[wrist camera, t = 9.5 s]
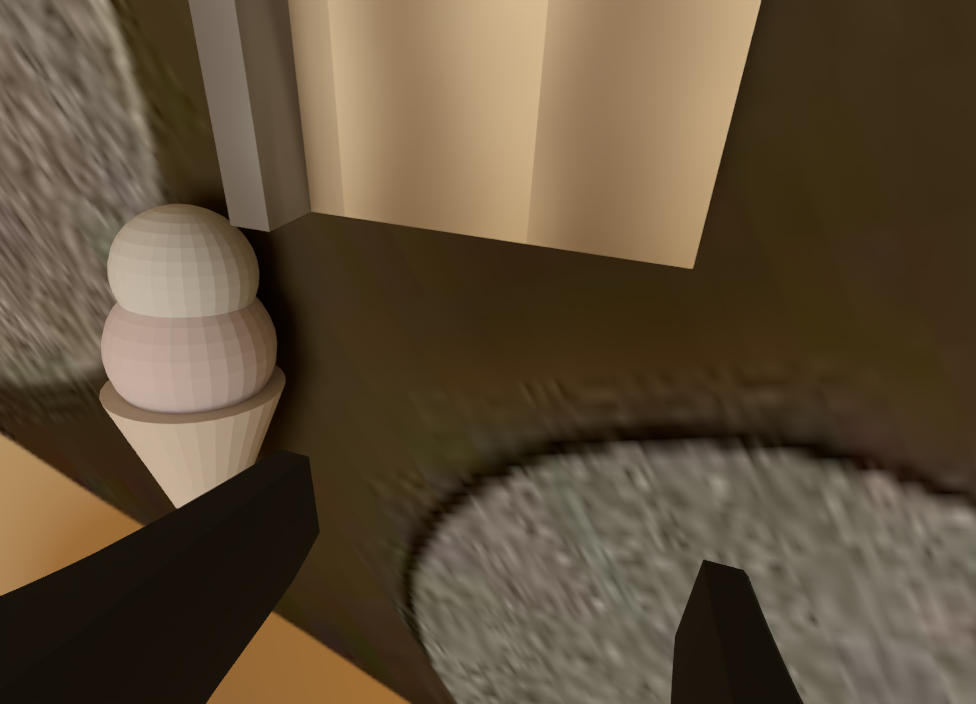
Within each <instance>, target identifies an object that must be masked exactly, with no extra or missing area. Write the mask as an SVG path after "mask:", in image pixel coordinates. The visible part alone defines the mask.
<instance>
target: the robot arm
mask: <svg viewBox="0 0 976 704" xmlns="http://www.w3.org/2000/svg"><path fill="white" fill-rule="evenodd" d="M319 532H320V531H319V524H318V517H317V510H316V504H315V497H314V490H313V483H312V476H311V469H310V463H309V457H308V456H304V455H300V454H296V453H292V452H289V451H285V450H279V451H277V452H275V453H273V454H272V455H270V456H268V457H266V458H264V459H263V460H261V461H259V462H257V463H256V464H254V465H252V466H250V467H249V468H247V469H245V470H244V471H242V472H240V473H238V474H237V475H235V476H233V477H232V478H230V479H228V480H227V481H225V482H223V483H221V484H220V485H218V486H216V487H215V488H213V489H211V490H209V491H208V492H206V493H204V494H202V495H201V496H199V497H197V498H195V499H194V500H192V501H190V502H188V503H187V504H185V505H183V506H181V507H180V508H178V509H176V510H174V511H173V512H171V513H169V514H167V515H166V516H164V517H162V518H160V519H158V520H156V521H155V522H153V523H151V524H149V525H147V526H145V527H143V528H141V529H139V530H138V531H136V532H134V533H132V534H130V535H128V536H126V537H124V538H122V539H120V540H119V541H117V542H115V543H113V544H111V545H109V546H107V547H105V548H103V549H101V550H100V551H98V552H96V553H94V554H92V555H90V556H88V557H86V558H83V559H81V560H79V561H77V562H75V563H73V564H71V565H69V566H67V567H65V568H63V569H60V570H58V571H56V572H54V573H52V574H49V575H47V576H45V577H43V578H41V579H38V580H36V581H34V582H32V583H30V584H27V585H25V586H23V587H20V588H18V589H16V590H14V591H11V592H9V593H7V594H4V595H2V596H0V704H206V703H207V701H208V700H209V698H210V697H211V695H212V694H213V692H214V691H215V689H216V688H217V687H218V685H219V683H220V682H221V681H222V679H223V678H224V677H225V675H226V674H227V673H228V671H229V670H230V669H231V667H232V666H233V664H234V663H235V661H236V660H237V659H238V657H239V656H240V655H241V653H242V652H243V650H244V649H245V648H246V646H247V645H248V644H249V642H250V641H251V639H252V638H253V637H254V635H255V634H256V632H257V631H258V630H259V628H260V627H261V625H262V624H263V623H264V621H265V620H266V619H267V617H268V616H269V614H270V613H271V611H272V610H273V609H274V607H275V606H276V604H277V603H278V602H279V600H280V599H281V597H282V596H283V595H284V593H285V592H286V590H287V589H288V587H289V586H290V584H291V583H292V581H293V580H294V578H295V576H296V575H297V573H298V571H299V569H300V568H301V566H302V564H303V562H304V560H305V559H306V557H307V555H308V553H309V551H310V549H311V547H312V545H313V544H314V542H315V540H316V538H317V536H318V534H319ZM671 704H803V702H802V700H801V698H800V696H799V694H798V692H797V689H796V687H795V685H794V683H793V681H792V679H791V677H790V675H789V672H788V670H787V668H786V666H785V664H784V661H783V659H782V657H781V655H780V652H779V650H778V648H777V646H776V643H775V641H774V639H773V636H772V634H771V632H770V629H769V627H768V625H767V622H766V620H765V618H764V615H763V613H762V610H761V608H760V605H759V603H758V600H757V598H756V595H755V593H754V590H753V588H752V585H751V582H750V580H749V577H748V576H747V574H746V573H745V572H744V570H741V569H737V568H734V567H730V566H726V565H722V564H718V563H714V562H711V561H707V560H703V562H702V565H701V568H700V570H699V573H698V576H697V578H696V581H695V584H694V586H693V589H692V592H691V595H690V597H689V600H688V603H687V605H686V608H685V611H684V614H683V616H682V619H681V622H680V624H679V627H678V630H677V632H676V635H675V645H674V659H673V674H672V691H671Z"/></svg>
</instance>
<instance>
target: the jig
mask: <svg viewBox="0 0 976 704" xmlns="http://www.w3.org/2000/svg"><path fill="white" fill-rule="evenodd" d="M760 3H761V0H189V5H190V11H191V16H192V21H193V27H194V32H195V37H196V43H197V48H198V53H199V59H200V64H201V69H202V75H203V80H204V85H205V91H206V96H207V101H208V107H209V112H210V117H211V123H212V128H213V133H214V139H215V144H216V149H217V155H218V160H219V165H220V171H221V176H222V181H223V187H224V192H225V197H226V203H227V208H228V213H229V219H230V224H231V226H237V227H243V228H249V229H255V230H261V231H268V232H270V231H272V230H274V229H276V228H278V227H281V226H283V225H285V224H287V223H289V222H291V221H293V220H295V219H297V218H299V217H301V216H303V215H305V214H307V213H309V212H318V213H324V214H331V215H337V216H344V217H351V218H357V219H364V220H371V221H377V222H384V223H391V224H397V225H404V226H410V227H417V228H424V229H430V230H437V231H444V232H450V233H457V234H464V235H470V236H477V237H483V238H490V239H497V240H503V241H510V242H517V243H523V244H530V245H536V246H543V247H550V248H556V249H563V250H570V251H576V252H583V253H590V254H596V255H603V256H609V257H616V258H623V259H629V260H636V261H643V262H649V263H656V264H663V265H669V266H676V267H682V268H689V269H693V266H694V262H695V258H696V255H697V251H698V247H699V243H700V239H701V235H702V231H703V227H704V223H705V219H706V215H707V211H708V207H709V204H710V200H711V196H712V192H713V188H714V184H715V180H716V176H717V172H718V168H719V164H720V160H721V156H722V153H723V149H724V145H725V141H726V137H727V133H728V129H729V125H730V121H731V117H732V113H733V109H734V105H735V101H736V98H737V94H738V90H739V86H740V82H741V78H742V74H743V70H744V66H745V62H746V58H747V54H748V50H749V47H750V43H751V39H752V35H753V31H754V27H755V23H756V19H757V15H758V11H759V7H760Z"/></svg>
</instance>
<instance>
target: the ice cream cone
mask: <svg viewBox="0 0 976 704" xmlns="http://www.w3.org/2000/svg"><path fill="white" fill-rule="evenodd" d="M107 265H108V279H109V283H110V286H111V290H112V292H113V294H114V295H115V297H116V299H117V301H118V302H117V303H116V304H115V305H114V307H113V308H112V310H111V312H110V314H109V316H108V318H107V320H106V322H105V326H104V331H103V335H102V341H101V350H102V360H103V364H104V367H105V370H106V373H107V375H108V377H109V379H110V380H109V381H108V382H106V383H105V385H104V386H103V388H102V389H101V390H100V396H99V399H100V401H101V403H102V405H103V407H104V408H105V410H106V411H107V412H108V414H109V415H110V417H111V418H112V419H113V421H114V422H115V423H116V425H117V426H118V428H119V429H120V430H121V432H122V433H123V435H124V436H125V437H126V439H127V440H128V442H129V443H130V444H131V446H132V447H133V448H134V450H135V451H136V453H137V454H138V455H139V457H140V458H141V460H142V461H143V462H144V464H145V465H146V466H147V468H148V469H149V471H150V472H151V473H152V475H153V476H154V478H155V479H156V480H157V482H158V483H159V485H160V486H161V487H162V489H163V490H164V491H165V493H166V494H167V496H168V497H169V498H170V500H171V501H172V503H173V504H174V505H175V507H176V508H177V509H178V508H180V507H181V506H183V505H185V504H187V503H188V502H190V501H192V500H194V499H195V498H197V497H199V496H201V495H202V494H204V493H206V492H208V491H209V490H211V489H213V488H215V487H216V486H218V485H220V484H221V483H223V482H225V481H227V480H228V479H230V478H232V477H233V476H235V475H237V474H238V473H240V472H242V471H244V470H245V469H247V468H249V467H250V466H252V465H254V463H255V461H256V458H257V455H258V453H259V450H260V448H261V445H262V442H263V440H264V437H265V435H266V432H267V429H268V427H269V424H270V422H271V419H272V416H273V414H274V411H275V409H276V406H277V404H278V401H279V398H280V396H281V393H282V391H283V388H284V385H285V375H284V373H283V371H282V370H281V369H280V368H279V367H278V366H277V365H275V363H276V353H277V338H276V332H275V328H274V325H273V323H272V320H271V317H270V315H269V314H268V312H267V310H266V309H265V307H264V306H263V304H262V303H261V301H260V300H259V299H258V298H257V297H256V293H257V290H258V285H259V267H258V261H257V258H256V255H255V253H254V250H253V248H252V246H251V245H250V243H249V241H248V240H247V238H246V237H245V235H244V234H243V233H242V232H241V231H240V230H239V229H238V228H237V227H236V226H231V224H230V221H229V220H227V219H226V218H225V217H223V216H221V215H219V214H217V213H215V212H213V211H211V210H209V209H206V208H202V207H198V206H194V205H188V204H168V205H164V206H159V207H154V208H151V209H149V210H147V211H145V212H142V213H140V214H138V215H137V216H136V217H134V218H133V219H132V220H130V221H129V222H128V223H126V224H125V225H124V227H123V228H122V229H121V230H120V231H119V233H118V234H117V235H116V237H115V239H114V241H113V243H112V245H111V249H110V253H109V258H108V263H107Z"/></svg>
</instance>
